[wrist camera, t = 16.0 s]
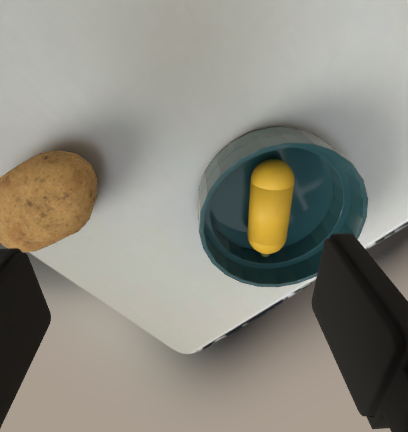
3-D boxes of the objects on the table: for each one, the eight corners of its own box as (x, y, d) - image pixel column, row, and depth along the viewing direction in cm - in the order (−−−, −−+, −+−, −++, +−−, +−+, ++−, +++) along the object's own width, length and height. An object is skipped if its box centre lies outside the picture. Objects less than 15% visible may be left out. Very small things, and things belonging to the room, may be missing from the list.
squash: (252, 152, 37) (251, 168, 33) (294, 153, 37) (299, 169, 33) (246, 242, 44) (245, 264, 40) (282, 244, 44) (285, 267, 39)
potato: (129, 178, 39) (116, 210, 32) (56, 238, 43) (31, 278, 36) (65, 116, 34) (34, 137, 28) (-9, 189, 39) (-51, 223, 32)
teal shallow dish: (228, 103, 35) (236, 117, 29) (371, 153, 38) (403, 174, 33) (180, 238, 43) (179, 268, 38) (300, 267, 47) (315, 299, 42)
